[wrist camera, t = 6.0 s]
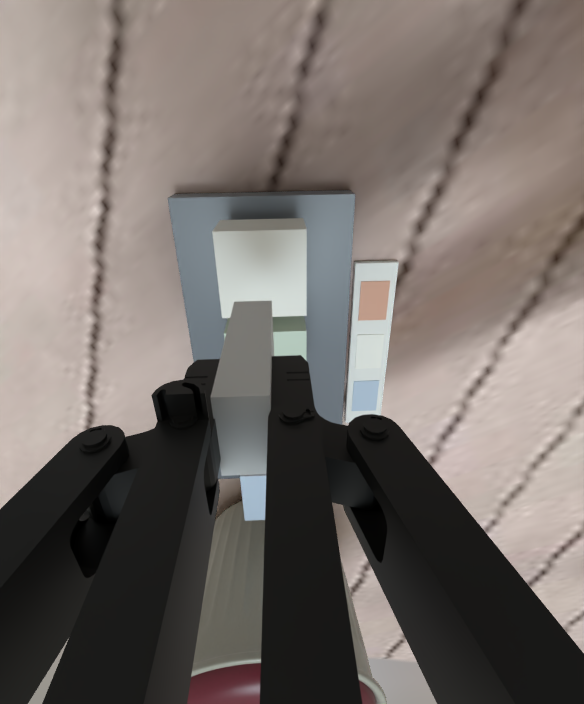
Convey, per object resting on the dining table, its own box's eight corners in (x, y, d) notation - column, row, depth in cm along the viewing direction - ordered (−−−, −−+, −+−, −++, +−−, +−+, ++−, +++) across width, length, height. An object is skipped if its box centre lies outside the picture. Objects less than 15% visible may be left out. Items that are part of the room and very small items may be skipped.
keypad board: (174, 193, 27) (158, 203, 23) (350, 190, 27) (361, 199, 23) (215, 463, 39) (209, 497, 35) (336, 459, 39) (342, 492, 35)
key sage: (229, 312, 26) (223, 333, 24) (303, 310, 27) (306, 331, 24) (235, 374, 29) (231, 401, 26) (303, 372, 29) (306, 398, 26)
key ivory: (219, 219, 23) (212, 231, 21) (303, 218, 24) (306, 229, 21) (227, 298, 26) (222, 318, 23) (303, 296, 26) (306, 315, 23)
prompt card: (354, 261, 29) (355, 263, 29) (396, 260, 29) (398, 262, 29) (344, 419, 37) (345, 423, 36) (378, 418, 37) (380, 422, 36)
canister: (374, 484, 41) (454, 768, 23) (322, 583, 49) (350, 850, 31) (202, 454, 38) (133, 752, 20) (178, 565, 47) (114, 846, 28)
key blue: (243, 446, 32) (239, 476, 29) (303, 444, 32) (306, 474, 30) (247, 489, 35) (244, 520, 32) (303, 487, 35) (306, 518, 32)
